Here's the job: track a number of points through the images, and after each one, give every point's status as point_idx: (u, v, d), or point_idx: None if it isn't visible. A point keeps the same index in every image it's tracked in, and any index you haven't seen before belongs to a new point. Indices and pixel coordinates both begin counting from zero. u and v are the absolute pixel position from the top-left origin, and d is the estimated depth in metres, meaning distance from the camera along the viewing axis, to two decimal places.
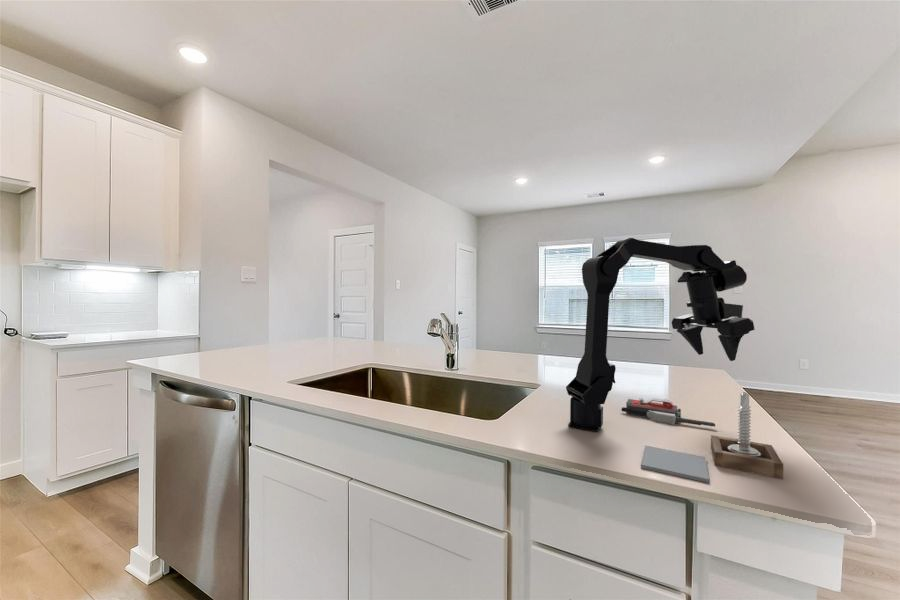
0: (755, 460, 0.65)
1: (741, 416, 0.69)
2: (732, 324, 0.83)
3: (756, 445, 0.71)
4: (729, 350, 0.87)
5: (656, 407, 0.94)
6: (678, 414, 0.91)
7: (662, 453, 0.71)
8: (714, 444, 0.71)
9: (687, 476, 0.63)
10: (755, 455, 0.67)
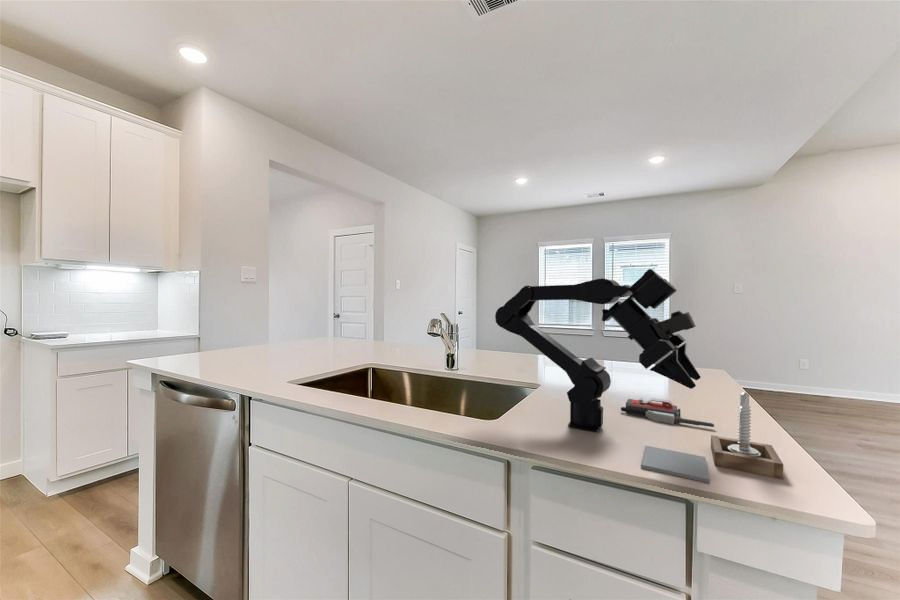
0: (755, 460, 0.65)
1: (741, 416, 0.69)
2: (639, 356, 0.72)
3: (756, 445, 0.71)
4: (674, 379, 0.71)
5: (655, 407, 0.94)
6: (677, 414, 0.91)
7: (662, 453, 0.71)
8: (714, 444, 0.71)
9: (687, 476, 0.63)
10: (755, 455, 0.67)
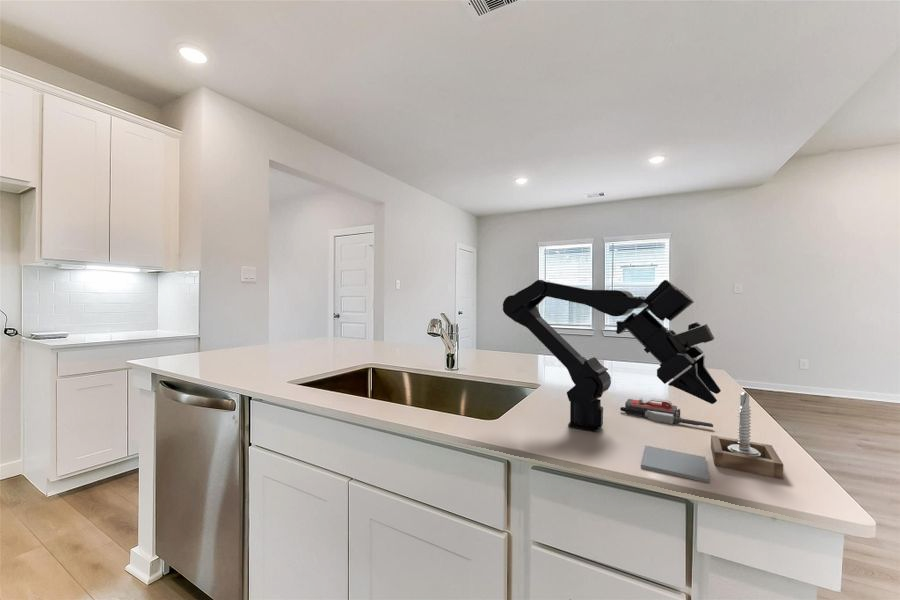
0: (755, 460, 0.65)
1: (741, 416, 0.69)
2: (657, 371, 0.70)
3: (756, 445, 0.71)
4: (694, 394, 0.69)
5: (655, 407, 0.94)
6: (677, 414, 0.91)
7: (662, 453, 0.71)
8: (714, 444, 0.71)
9: (687, 476, 0.63)
10: (755, 455, 0.67)
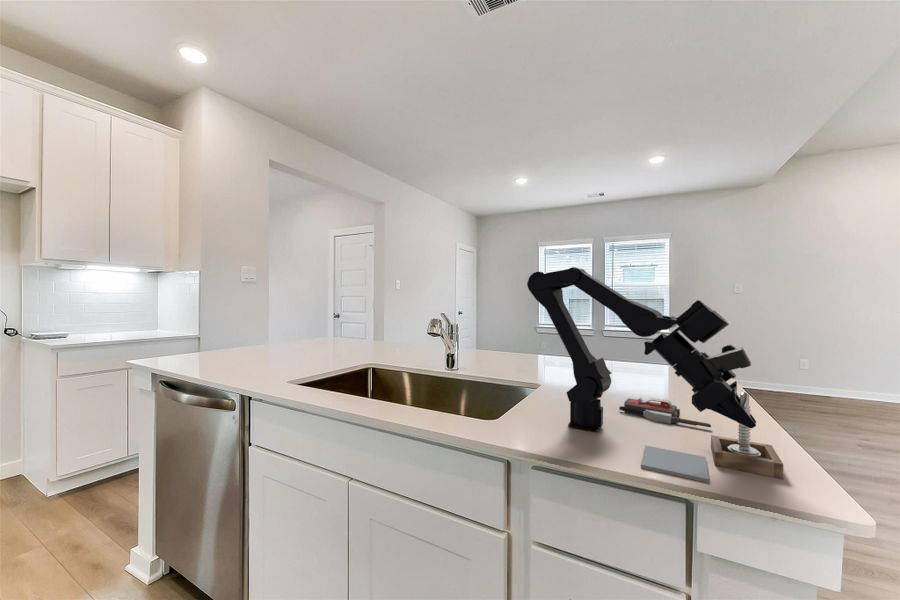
0: (755, 460, 0.65)
1: None
2: (692, 398, 0.67)
3: (756, 445, 0.71)
4: (732, 418, 0.68)
5: (653, 407, 0.94)
6: (675, 414, 0.91)
7: (662, 453, 0.71)
8: (714, 444, 0.71)
9: (687, 476, 0.63)
10: (755, 455, 0.67)
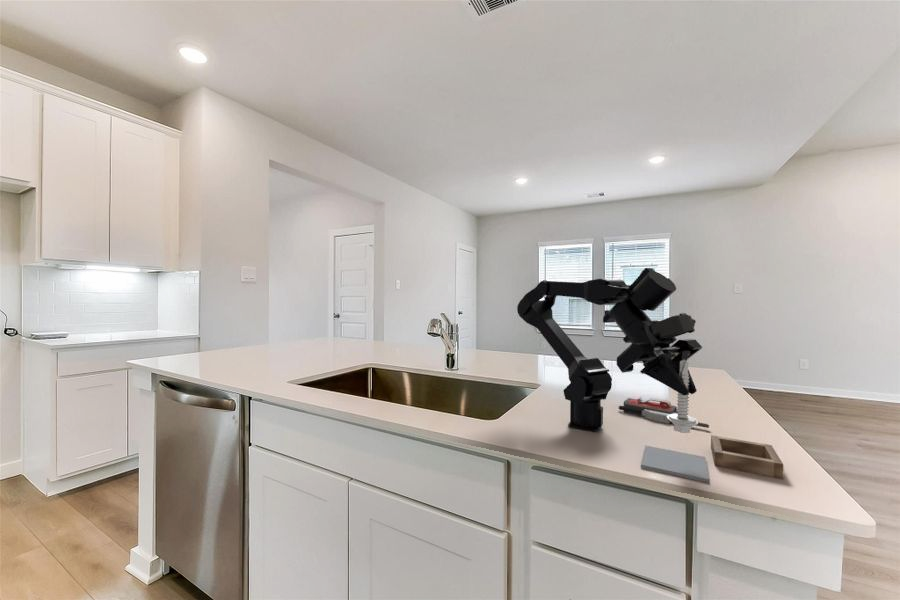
0: (755, 460, 0.65)
1: None
2: None
3: (756, 445, 0.71)
4: (666, 384, 0.68)
5: (652, 406, 0.94)
6: None
7: (662, 453, 0.71)
8: (714, 444, 0.71)
9: (687, 476, 0.63)
10: (686, 423, 0.66)
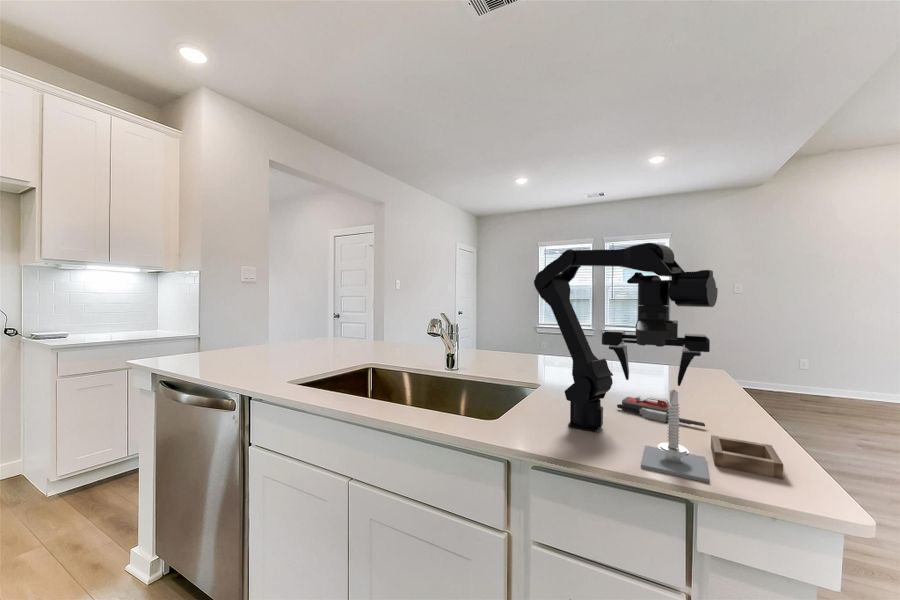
0: (755, 460, 0.65)
1: None
2: None
3: (756, 445, 0.71)
4: None
5: (650, 405, 0.95)
6: None
7: (662, 453, 0.71)
8: (714, 444, 0.71)
9: (687, 476, 0.63)
10: (676, 453, 0.66)
